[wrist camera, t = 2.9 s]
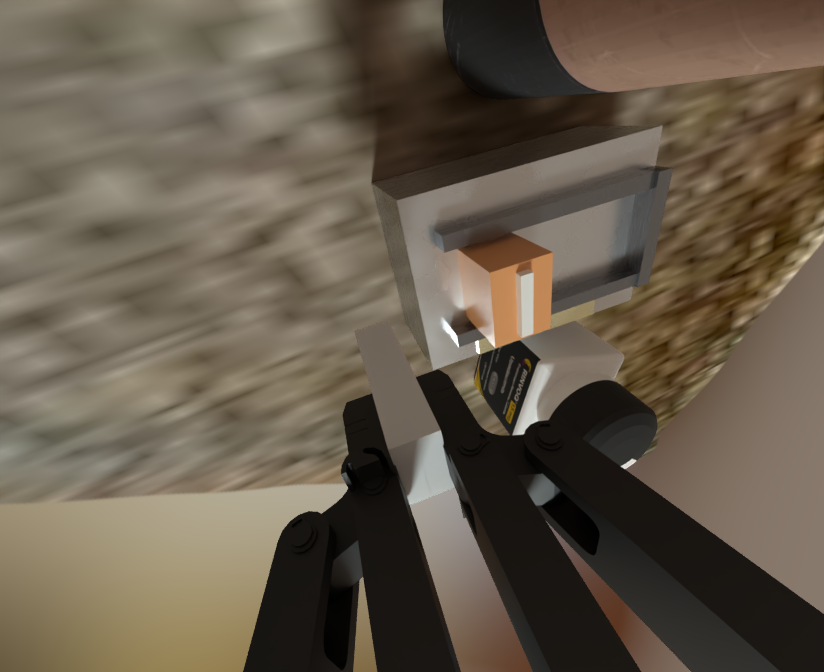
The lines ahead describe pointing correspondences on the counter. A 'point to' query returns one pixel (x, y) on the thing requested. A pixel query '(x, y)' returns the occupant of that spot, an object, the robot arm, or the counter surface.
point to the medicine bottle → (567, 390)
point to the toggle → (507, 287)
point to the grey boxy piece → (526, 226)
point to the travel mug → (625, 43)
